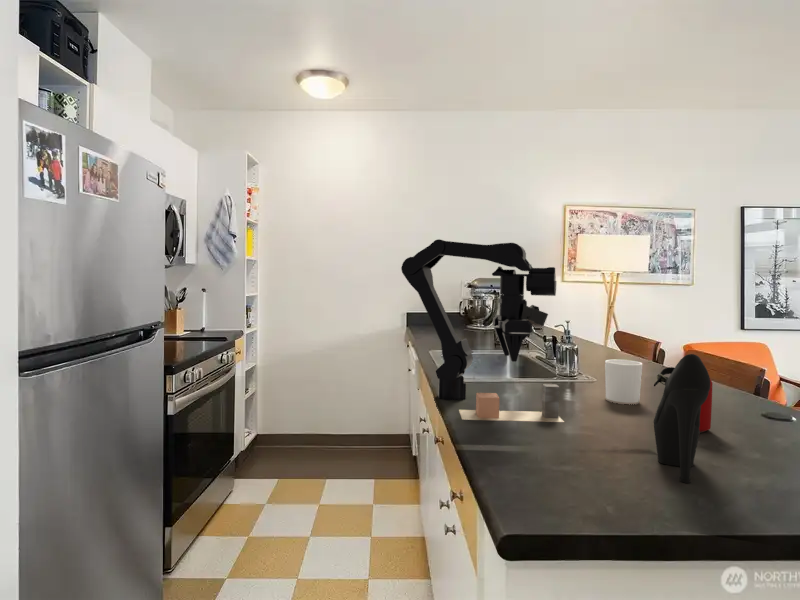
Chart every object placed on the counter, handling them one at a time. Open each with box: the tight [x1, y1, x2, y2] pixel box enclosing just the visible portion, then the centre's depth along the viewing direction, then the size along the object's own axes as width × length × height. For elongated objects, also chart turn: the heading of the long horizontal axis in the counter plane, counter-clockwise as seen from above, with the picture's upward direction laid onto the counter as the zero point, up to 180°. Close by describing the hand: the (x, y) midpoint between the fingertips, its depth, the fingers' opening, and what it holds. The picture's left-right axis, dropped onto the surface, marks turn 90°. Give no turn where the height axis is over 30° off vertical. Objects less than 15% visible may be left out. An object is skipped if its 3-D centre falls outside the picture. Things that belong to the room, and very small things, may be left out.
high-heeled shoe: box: [653, 353, 711, 484], centre depth 82 cm, size 8×19×20 cm, turn 161°
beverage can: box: [699, 378, 713, 433], centre depth 104 cm, size 7×7×12 cm
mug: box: [604, 358, 644, 406], centre depth 129 cm, size 11×9×10 cm
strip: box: [458, 383, 565, 423], centre depth 109 cm, size 22×8×8 cm, turn 88°
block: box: [475, 392, 500, 418], centre depth 109 cm, size 4×4×4 cm
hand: (510, 358), depth 120 cm, fingers open, 9 cm apart
